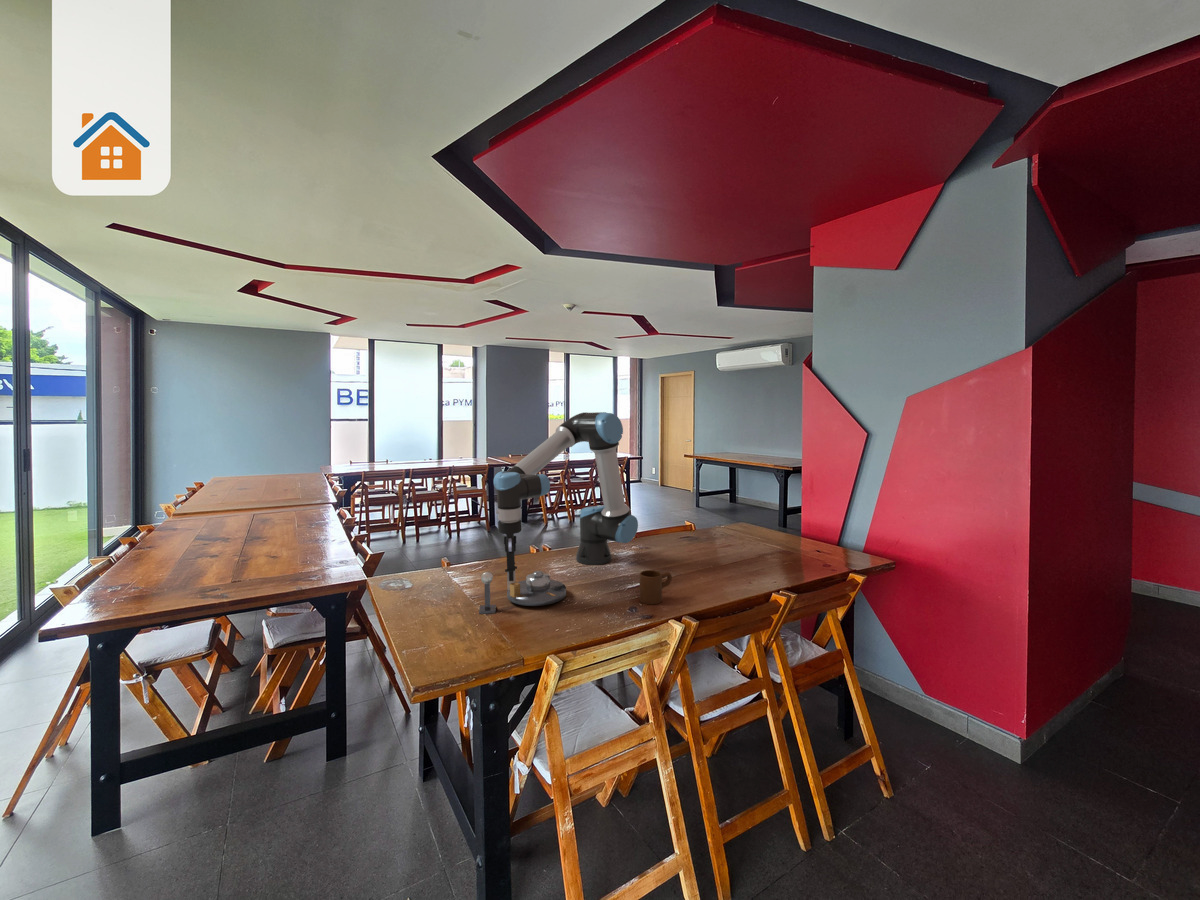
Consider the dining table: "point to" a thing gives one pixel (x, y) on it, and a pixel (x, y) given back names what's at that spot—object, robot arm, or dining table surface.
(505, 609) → the dining table surface
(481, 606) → the globe lamp
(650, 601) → the mug
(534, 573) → the cover
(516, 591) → the turntable
